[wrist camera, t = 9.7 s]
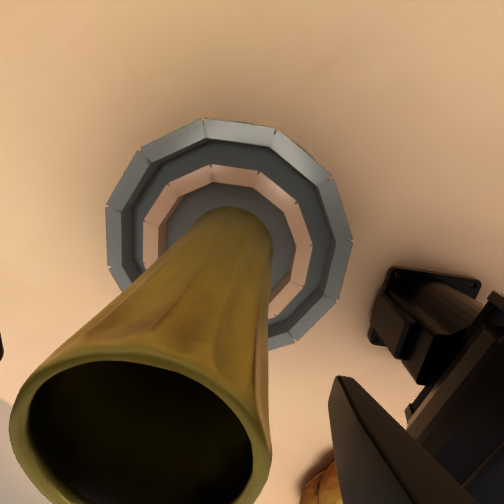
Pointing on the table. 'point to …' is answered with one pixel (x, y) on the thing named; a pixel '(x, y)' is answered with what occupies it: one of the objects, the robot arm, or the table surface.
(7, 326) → the table surface
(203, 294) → the vase
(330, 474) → the bread roll
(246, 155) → the grooved tray
